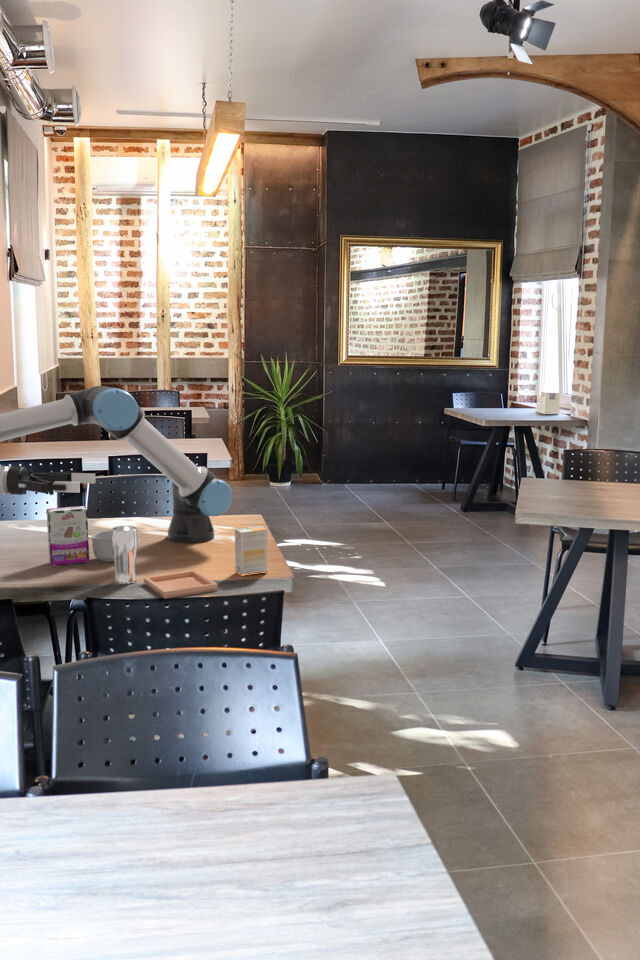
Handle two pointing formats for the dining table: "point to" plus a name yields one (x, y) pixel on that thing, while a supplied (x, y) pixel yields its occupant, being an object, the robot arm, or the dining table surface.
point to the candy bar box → (68, 535)
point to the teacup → (103, 546)
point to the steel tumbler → (124, 553)
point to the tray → (180, 584)
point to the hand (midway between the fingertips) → (87, 482)
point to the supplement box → (251, 550)
